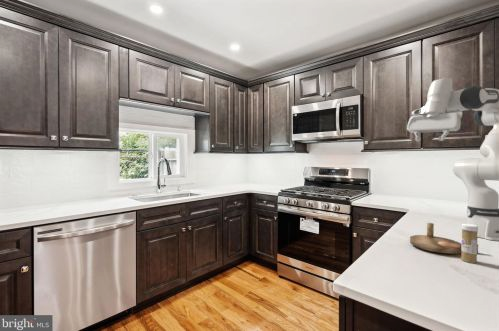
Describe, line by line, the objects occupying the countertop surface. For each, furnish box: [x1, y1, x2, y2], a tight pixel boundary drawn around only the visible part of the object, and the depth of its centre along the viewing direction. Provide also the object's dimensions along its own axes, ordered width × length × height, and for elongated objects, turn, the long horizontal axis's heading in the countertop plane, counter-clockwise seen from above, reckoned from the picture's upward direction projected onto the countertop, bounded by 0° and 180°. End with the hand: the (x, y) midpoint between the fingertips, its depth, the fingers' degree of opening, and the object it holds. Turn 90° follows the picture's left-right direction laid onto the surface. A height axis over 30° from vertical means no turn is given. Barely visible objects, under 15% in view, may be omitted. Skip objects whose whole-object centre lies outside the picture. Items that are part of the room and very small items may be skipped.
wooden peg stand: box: [409, 222, 462, 255], centre depth 105 cm, size 18×18×8 cm
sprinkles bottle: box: [460, 223, 478, 264], centre depth 91 cm, size 5×5×14 cm
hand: (428, 140), depth 113 cm, fingers open, 8 cm apart
